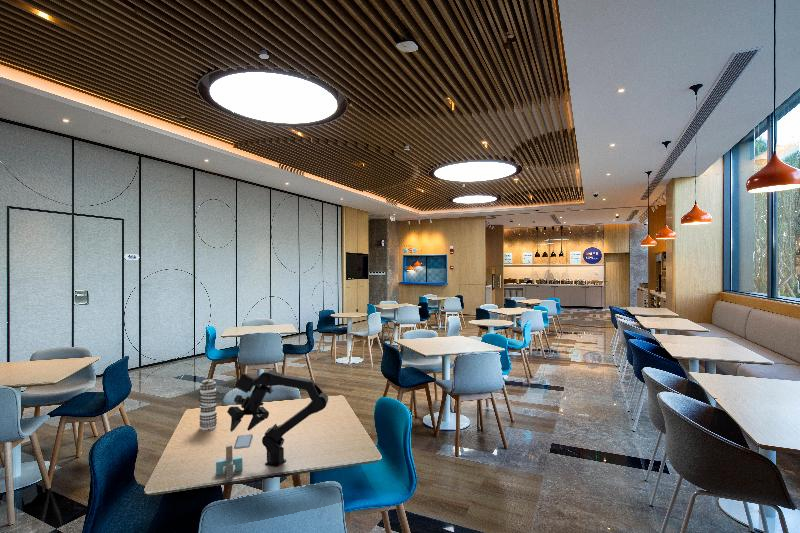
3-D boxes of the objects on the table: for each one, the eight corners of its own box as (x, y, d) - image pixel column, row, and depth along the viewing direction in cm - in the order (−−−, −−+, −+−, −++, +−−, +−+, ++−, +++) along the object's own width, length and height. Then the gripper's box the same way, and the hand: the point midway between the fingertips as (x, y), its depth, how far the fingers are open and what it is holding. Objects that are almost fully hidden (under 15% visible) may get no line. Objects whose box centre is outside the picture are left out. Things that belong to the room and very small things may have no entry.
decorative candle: (201, 431, 221) (201, 383, 221) (196, 427, 228) (196, 380, 228) (219, 427, 227) (219, 380, 227) (214, 422, 234) (214, 377, 234)
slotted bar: (225, 466, 179) (225, 454, 179) (232, 464, 180) (232, 453, 180) (226, 478, 168) (226, 465, 168) (233, 476, 169) (233, 464, 169)
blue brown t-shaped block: (242, 467, 177) (241, 442, 178) (242, 470, 175) (242, 444, 175) (216, 472, 173) (215, 446, 174) (216, 475, 171) (215, 448, 171)
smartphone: (233, 448, 197) (237, 435, 212) (233, 450, 197) (237, 437, 212) (249, 446, 199) (253, 434, 214) (250, 448, 199) (253, 436, 214)
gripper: (262, 388, 194) (246, 419, 193) (229, 387, 179) (211, 420, 178) (276, 401, 188) (260, 433, 187) (243, 401, 172) (225, 436, 172)
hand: (239, 430), depth 181 cm, fingers open, 9 cm apart
